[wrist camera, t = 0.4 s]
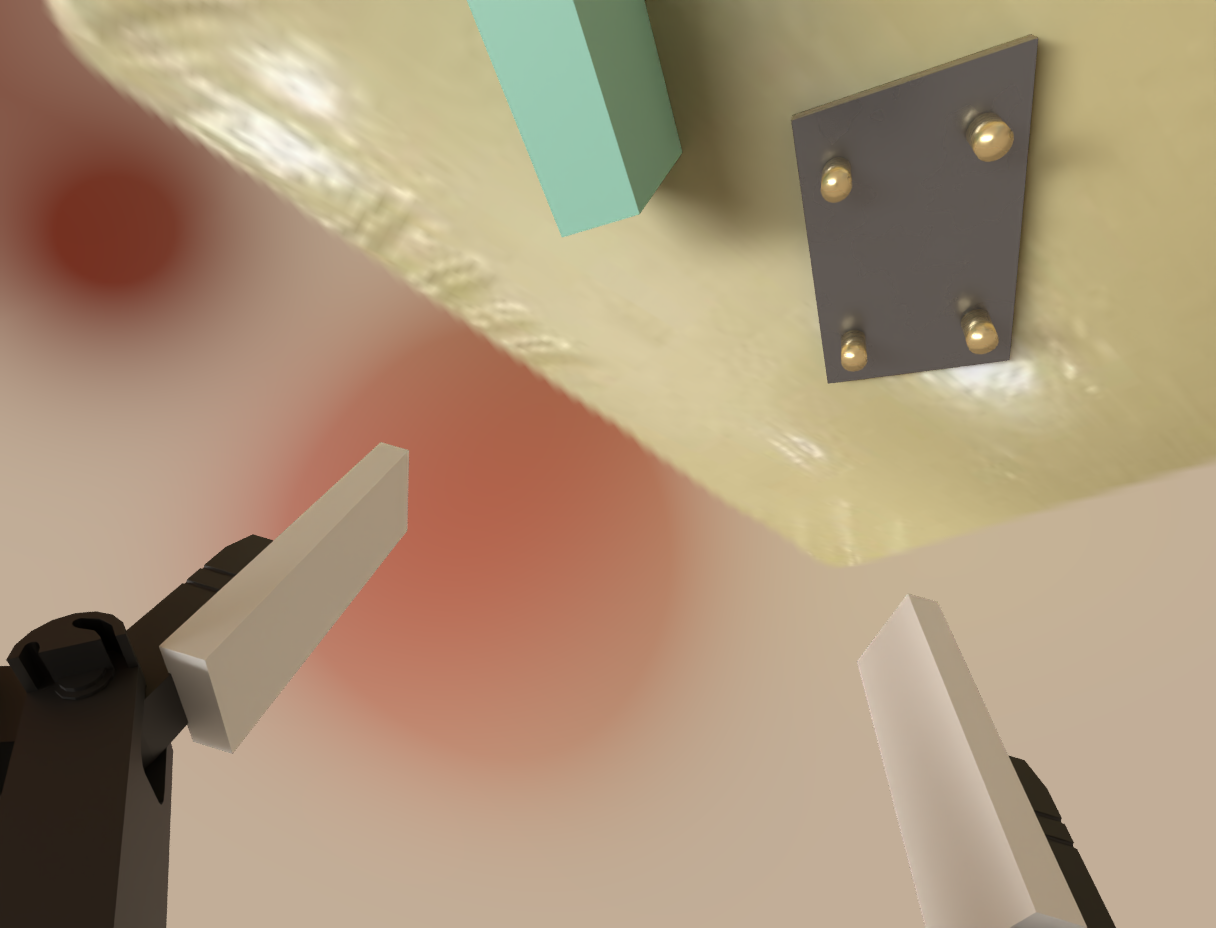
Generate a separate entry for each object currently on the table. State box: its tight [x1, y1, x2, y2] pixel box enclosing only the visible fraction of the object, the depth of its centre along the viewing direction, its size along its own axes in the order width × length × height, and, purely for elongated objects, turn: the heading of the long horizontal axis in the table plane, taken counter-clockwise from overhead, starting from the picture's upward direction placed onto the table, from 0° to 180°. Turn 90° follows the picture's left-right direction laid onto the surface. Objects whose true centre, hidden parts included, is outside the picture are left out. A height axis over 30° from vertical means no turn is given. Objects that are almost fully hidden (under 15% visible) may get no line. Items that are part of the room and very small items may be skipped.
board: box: [467, 0, 682, 237], centre depth 25 cm, size 4×14×10 cm, turn 21°
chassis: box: [791, 34, 1038, 383], centre depth 30 cm, size 10×16×4 cm, turn 21°
